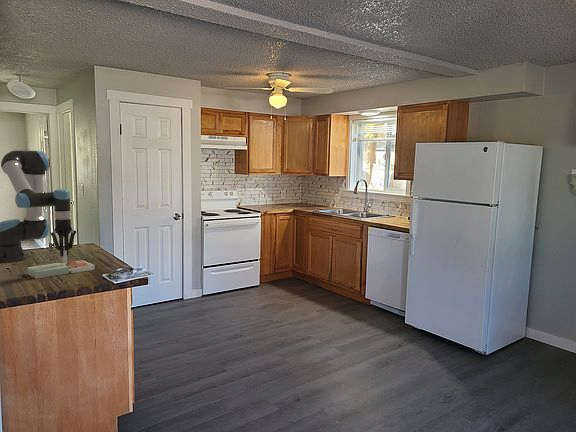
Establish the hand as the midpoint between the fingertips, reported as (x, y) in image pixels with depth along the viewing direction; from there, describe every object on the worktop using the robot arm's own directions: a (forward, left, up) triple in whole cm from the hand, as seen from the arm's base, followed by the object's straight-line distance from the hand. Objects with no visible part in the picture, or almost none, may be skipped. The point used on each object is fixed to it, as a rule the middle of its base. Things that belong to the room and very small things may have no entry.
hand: (64, 262), depth 234 cm
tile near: (0, +4, -3) cm, 5 cm away
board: (0, -8, -5) cm, 10 cm away
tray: (0, +6, -5) cm, 8 cm away
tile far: (0, +8, -1) cm, 8 cm away
